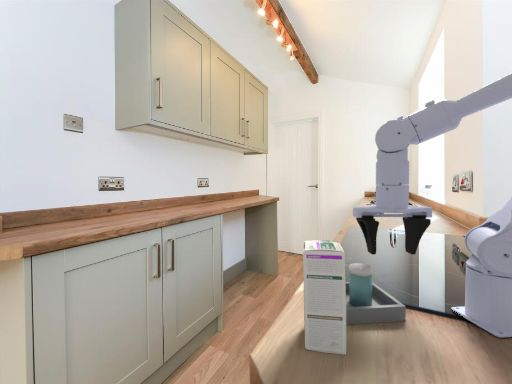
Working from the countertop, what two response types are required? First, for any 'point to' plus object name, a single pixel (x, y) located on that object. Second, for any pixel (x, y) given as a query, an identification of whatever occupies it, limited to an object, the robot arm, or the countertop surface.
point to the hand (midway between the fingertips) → (391, 253)
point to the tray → (375, 308)
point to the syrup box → (324, 296)
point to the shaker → (360, 285)
